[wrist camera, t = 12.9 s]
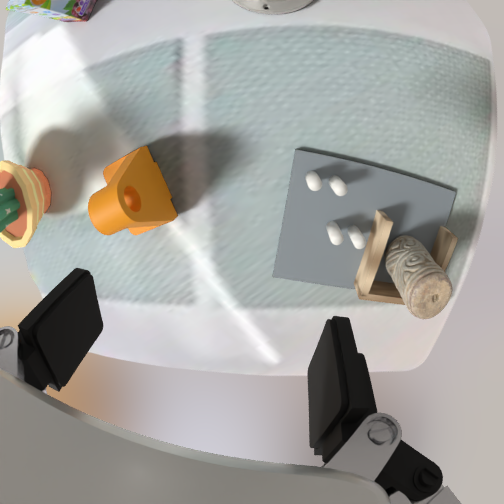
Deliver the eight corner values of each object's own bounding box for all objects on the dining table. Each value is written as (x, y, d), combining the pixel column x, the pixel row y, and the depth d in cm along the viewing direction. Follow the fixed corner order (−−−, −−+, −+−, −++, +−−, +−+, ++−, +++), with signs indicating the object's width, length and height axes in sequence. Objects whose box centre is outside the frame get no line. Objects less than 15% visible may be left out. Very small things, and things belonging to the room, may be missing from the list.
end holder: (376, 209, 35) (386, 220, 31) (445, 227, 34) (458, 238, 31) (353, 283, 40) (359, 299, 36) (419, 292, 40) (428, 307, 36)
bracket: (111, 166, 37) (58, 188, 26) (149, 144, 35) (100, 159, 24) (140, 229, 41) (99, 268, 30) (179, 213, 39) (143, 252, 28)
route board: (295, 149, 34) (297, 153, 29) (452, 190, 33) (470, 200, 28) (272, 273, 42) (271, 292, 37) (414, 294, 41) (425, 312, 37)
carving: (407, 220, 35) (447, 261, 24) (425, 259, 37) (462, 305, 26) (371, 245, 37) (399, 295, 26) (392, 281, 39) (420, 334, 29)
